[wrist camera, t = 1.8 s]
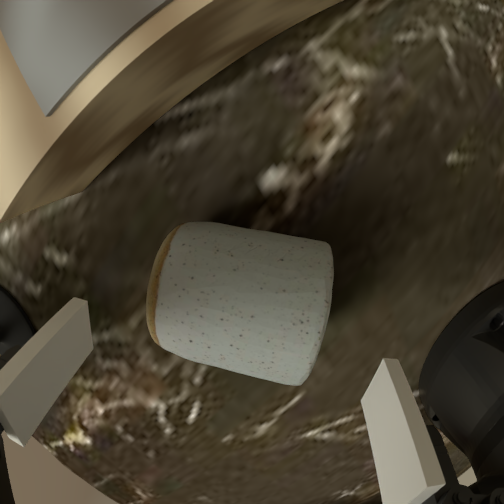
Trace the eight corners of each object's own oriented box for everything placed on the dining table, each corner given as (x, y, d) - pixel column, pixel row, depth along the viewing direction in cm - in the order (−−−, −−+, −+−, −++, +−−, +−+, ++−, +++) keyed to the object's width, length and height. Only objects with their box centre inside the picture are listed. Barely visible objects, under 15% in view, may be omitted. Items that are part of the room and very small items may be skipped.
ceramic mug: (188, 202, 18) (132, 247, 11) (325, 224, 18) (350, 283, 11) (180, 344, 22) (146, 421, 15) (290, 363, 22) (289, 448, 15)
